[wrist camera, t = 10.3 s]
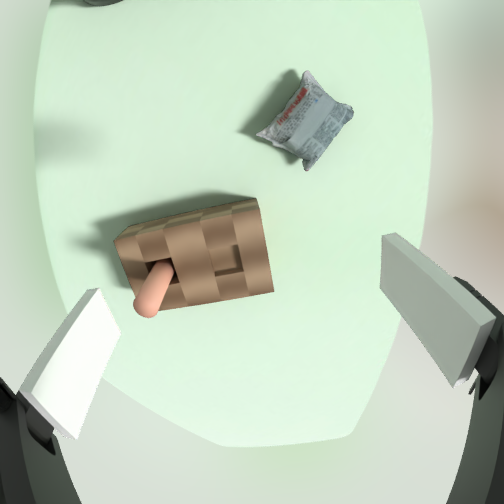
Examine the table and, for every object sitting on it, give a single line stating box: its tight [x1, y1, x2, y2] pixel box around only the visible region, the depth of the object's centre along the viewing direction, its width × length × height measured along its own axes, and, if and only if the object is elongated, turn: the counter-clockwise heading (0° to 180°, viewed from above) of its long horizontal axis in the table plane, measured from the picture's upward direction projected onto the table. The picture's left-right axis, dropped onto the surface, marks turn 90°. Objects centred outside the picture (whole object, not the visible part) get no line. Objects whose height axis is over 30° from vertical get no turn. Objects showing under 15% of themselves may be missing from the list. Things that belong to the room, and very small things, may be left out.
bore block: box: [114, 198, 274, 311], centre depth 39 cm, size 12×20×6 cm, turn 101°
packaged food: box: [256, 70, 354, 171], centre depth 33 cm, size 9×12×5 cm
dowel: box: [133, 257, 175, 318], centre depth 35 cm, size 3×3×12 cm
